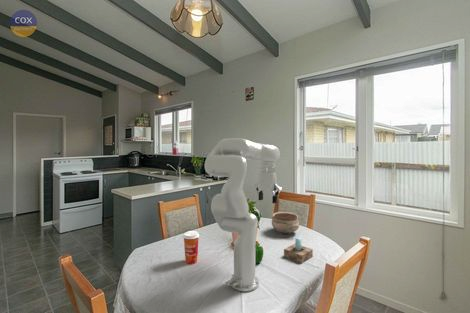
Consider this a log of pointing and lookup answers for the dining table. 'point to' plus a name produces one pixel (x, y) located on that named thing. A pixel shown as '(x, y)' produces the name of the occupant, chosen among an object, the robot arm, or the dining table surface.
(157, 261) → the dining table surface
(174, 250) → the dining table surface
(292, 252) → the socket
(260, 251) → the bell pepper
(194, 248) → the coffee cup
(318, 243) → the dining table surface
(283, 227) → the cooking pot
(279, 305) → the dining table surface
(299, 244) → the peg
